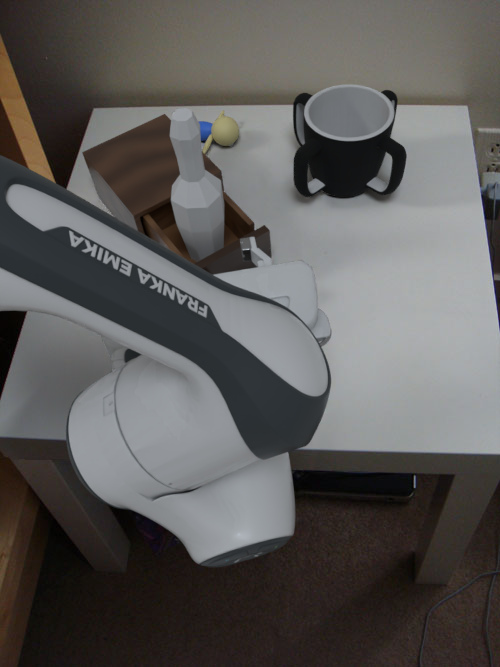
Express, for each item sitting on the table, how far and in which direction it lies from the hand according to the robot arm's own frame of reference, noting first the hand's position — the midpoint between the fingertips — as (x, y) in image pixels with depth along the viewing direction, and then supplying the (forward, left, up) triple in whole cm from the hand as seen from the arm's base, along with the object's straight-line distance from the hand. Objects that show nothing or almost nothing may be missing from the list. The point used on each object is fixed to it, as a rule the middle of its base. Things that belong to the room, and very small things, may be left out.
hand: (200, 249), depth 59 cm
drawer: (+7, +12, -18) cm, 23 cm away
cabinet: (+7, +27, -19) cm, 34 cm away
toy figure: (+19, +35, -19) cm, 44 cm away
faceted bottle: (+7, +13, -17) cm, 23 cm away
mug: (+32, +15, -19) cm, 40 cm away
